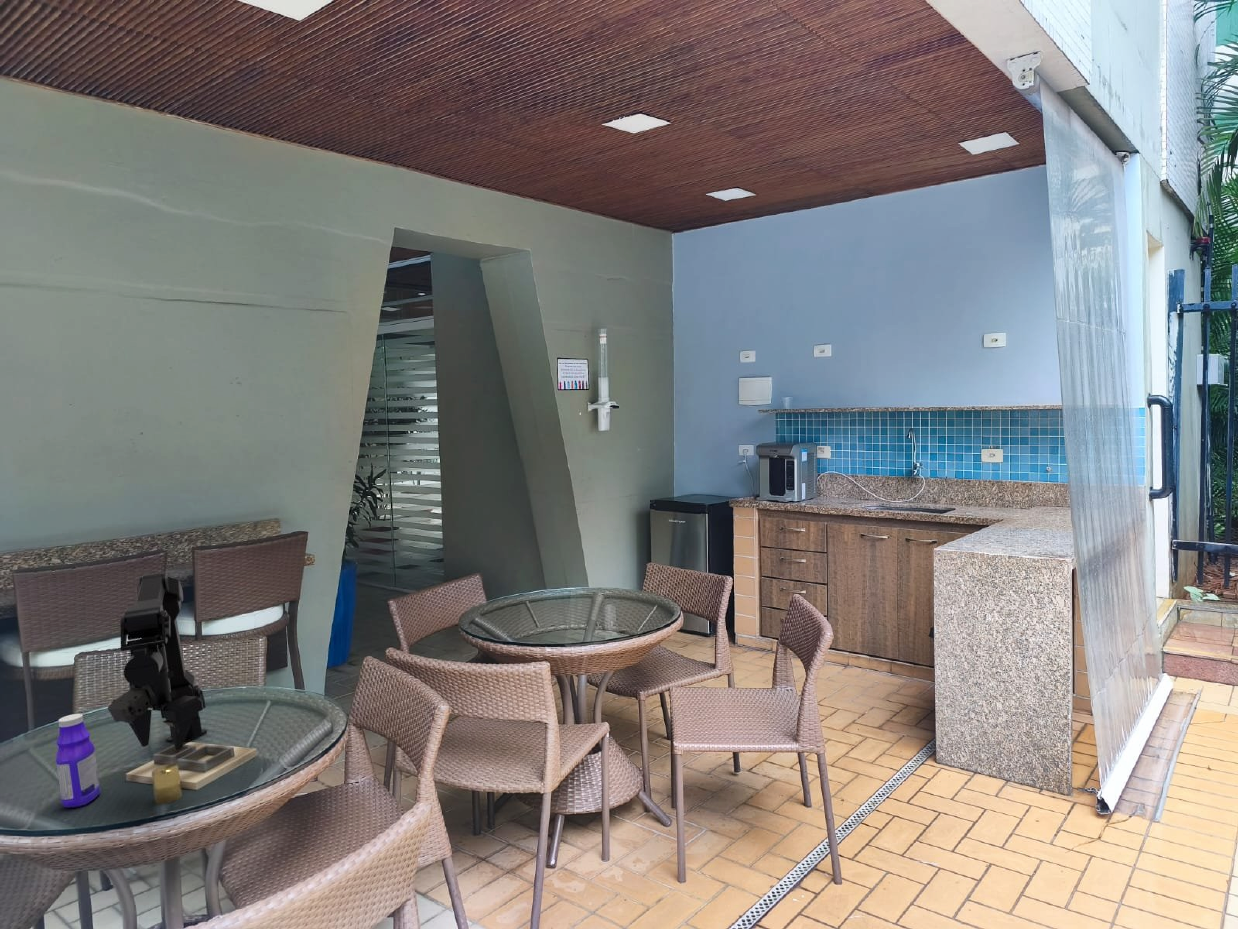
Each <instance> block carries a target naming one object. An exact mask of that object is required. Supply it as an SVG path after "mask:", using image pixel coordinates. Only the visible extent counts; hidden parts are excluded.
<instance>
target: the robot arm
mask: <svg viewBox="0 0 1238 929" xmlns="http://www.w3.org/2000/svg"><path fill="white" fill-rule="evenodd" d="M183 601H184V592H183V587H182V584H181V581H180V579H177V578H173V577H171V576H168V574H167V573H166V572H157V573H149V574H144V575H142V576H139V583H137V585H136V602H135V603H134V604H132V605H130V606H128V607H127V608H126V609H125V611H124V613H123V617H121V618H120V627H119V628H120V651H121V652H124V651H129V652H130V657H129V659H128V661H127V662H126V664H125V666H124V670H123V676H124V680H126V682H127V683H129V684H128V685H129V690H128V691H126V692H124V693H123V694H121V695H120V696H119V697H117V698H115V699H113V700H112V702H111V704H109V705H108V707H107V710H108V711H109V713H110V715H111V716H112V719H113V720H114V722H117V723H118V722H123V723H126V724H127V723H128V725H129V726H130V728H131V729H132V731H133V733H134V735H135V736H136V737H137V739H138V742H139V743H140V745H141V747H143V748H145V747H147V746H148V745H149V742H150V736H151V735H150V734H151V723H152V721H151V720H152V711H155V712H157V711H158V712H159V711H160V714H161V719H165V720H163V723H164V724H165V725H167V726H169V731H170V736H169V737H166V738H165V741H166V742H172V743H173V745H175V748H176V750H180V749H182V747H183V744H184V745H185V744H187V743H189V742H191V741H192V740H194V739H196V738H198V737H200V736H202V735H204V734H207V732H208V730H207V729H202V723H201V722H202V720H201V717H200V712H202V711H203V710H204V709H206V707H207V706H206V698H205V695H204V691H203V690H202V689H201V687H200V685H199V684H197V682H196V677H195V675H194V674H192V673H191V672H190V671H188V670H187V669H186V665H185V660H184V653H183V648H182V641H181V637H180V631H179V626H178V621H177V618H178V616H179V615H180V612H181V606H182V602H183Z"/></svg>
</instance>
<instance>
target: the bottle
mask: <svg viewBox="0 0 1238 929" xmlns="http://www.w3.org/2000/svg"><path fill="white" fill-rule="evenodd" d="M58 727H59V734H58V737H57V739H56V745H57V746H58V750H57V752H56V758H55V763H56V767H57V768H56V769H57V777H58V782H59V790H60V791H59V792H60V798H61V799H60V800H61V804H62V806H63V807H65V808H66V807H67V808H70V807H71V808H77V807H78V806H79V807H82V805H83V806H86V805H87V804H89V803H90V802H92V801H93V800H95V799H96V798H97V797H98V795H99V794H100V789H101V786H100V779H99V774H98V766H97V759H96V758H97V756H96V751H95V749H96V748H95V746H94V743H93V742H92V740H90V737H91V733H90V732H89V731H88V730H87V728H86V725H85V723H84V716H83V714H82V713H73V714H69V715H66V716H62V717H60V718H59V719H58ZM71 808H70V809H71Z"/></svg>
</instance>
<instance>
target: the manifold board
mask: <svg viewBox="0 0 1238 929" xmlns="http://www.w3.org/2000/svg"><path fill="white" fill-rule="evenodd" d="M256 757H258V749H257V748H254V747H253V748H252V747H242V746H241V747H240V746H231V745H223V744H213V743H203V742H193V741H192V742H191V741H188V742H186V743H184V744H183V747H182V749H180V750H176V748H175V745H174V744H173V745H170V746H169V747H167V748H165V749H162V750H160V751H158V752H156V753H154V754H152V758H153V760H151V761H148V762H146V763H144V764H143V765H141V766H139V767H137V768H134V769H132V770H131V771H129V772H127V773H125V778H126V782H134V783H141V784H147V785H148V784H149V785H153V779H152V771H153V770H154V769H156V768H158V767H160V766H163V765H168V764H177V765H178V770H179V778H180V785H181V789H187V790H193V791H198V790H199V789H201V788H203V787H204V786H206V785H208V784H210V783H212V782H214V781H215V780H217V779H219V778H220V777H222V776H224V775H226V774H228V773H229V772H231V771H233V770H235V769H237V768H238V767H240V766H241V765H243V764H245V763H247V762H249V761H251V760H252V759H254V758H256Z"/></svg>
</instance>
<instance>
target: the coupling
mask: <svg viewBox="0 0 1238 929" xmlns="http://www.w3.org/2000/svg"><path fill="white" fill-rule="evenodd" d="M152 779H153V784H152V786H153V794H154V799H155V803H156V804H158V805H165V804H169V803H172V802H176V801H177V800H179V799H181V797H182V795H183V793H182V788H181V785H180V778H179V770H178V765H177V764H168V765H163V766H160V767H158V768H156V769H154V770H153V771H152Z"/></svg>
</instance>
